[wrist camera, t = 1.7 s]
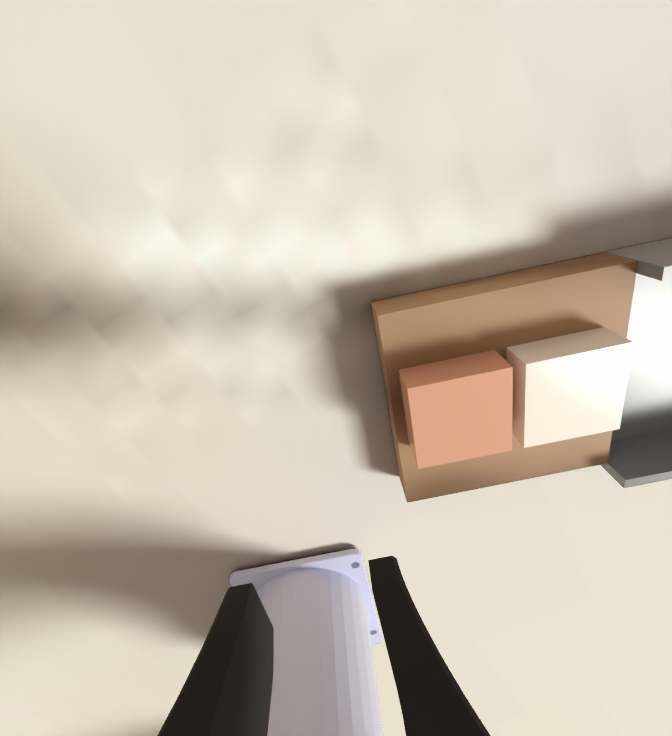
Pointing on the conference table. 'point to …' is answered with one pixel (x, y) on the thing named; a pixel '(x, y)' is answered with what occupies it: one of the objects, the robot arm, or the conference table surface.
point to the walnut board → (497, 332)
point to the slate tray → (647, 373)
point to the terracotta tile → (458, 408)
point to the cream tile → (569, 385)
